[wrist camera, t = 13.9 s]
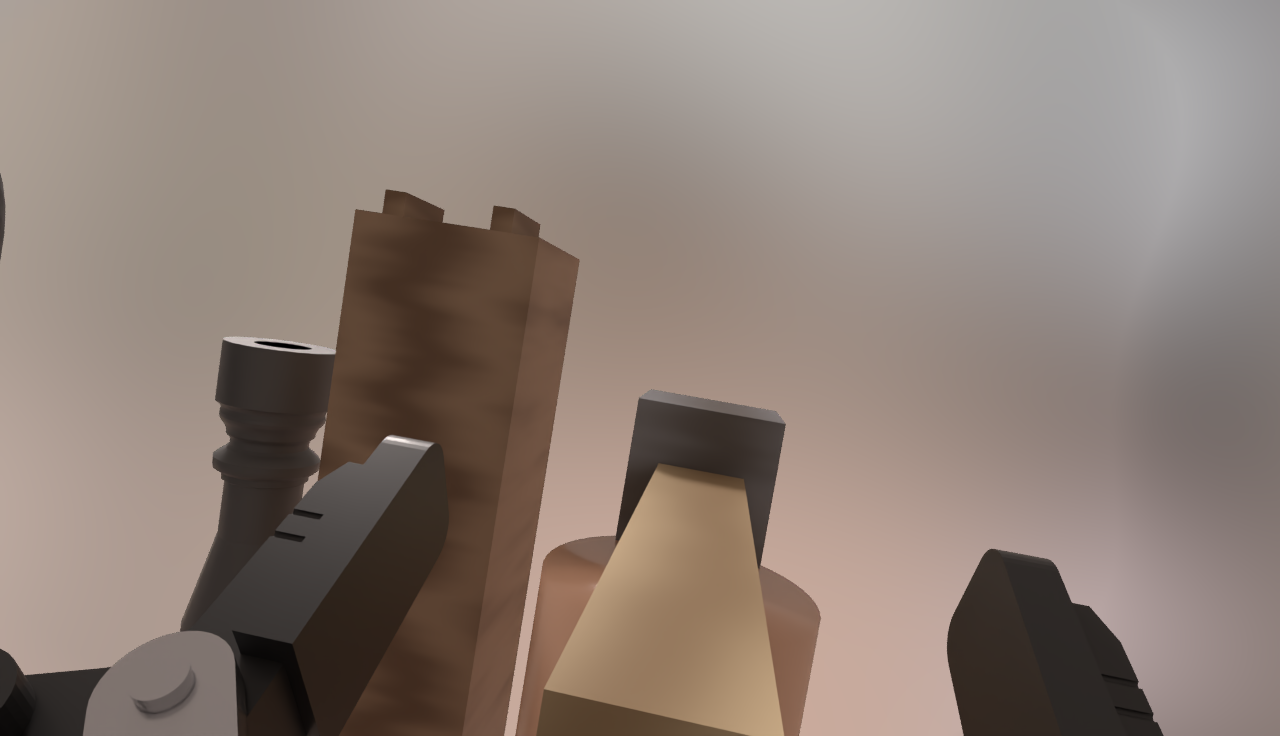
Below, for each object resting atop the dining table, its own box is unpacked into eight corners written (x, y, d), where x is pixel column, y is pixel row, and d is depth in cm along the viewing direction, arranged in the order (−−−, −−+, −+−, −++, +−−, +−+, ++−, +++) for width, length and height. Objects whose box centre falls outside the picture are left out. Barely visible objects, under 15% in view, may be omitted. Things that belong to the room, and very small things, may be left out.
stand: (219, 938, 30) (323, 176, 29) (343, 791, 40) (426, 218, 38) (438, 1000, 29) (561, 212, 27) (510, 833, 39) (604, 246, 37)
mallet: (426, 894, 8) (487, 505, 8) (630, 510, 27) (650, 389, 27) (831, 1001, 8) (909, 589, 8) (754, 534, 27) (776, 411, 26)
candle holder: (242, 839, 36) (309, 356, 34) (126, 816, 36) (187, 336, 35) (306, 765, 42) (364, 353, 41) (206, 745, 42) (261, 335, 41)
